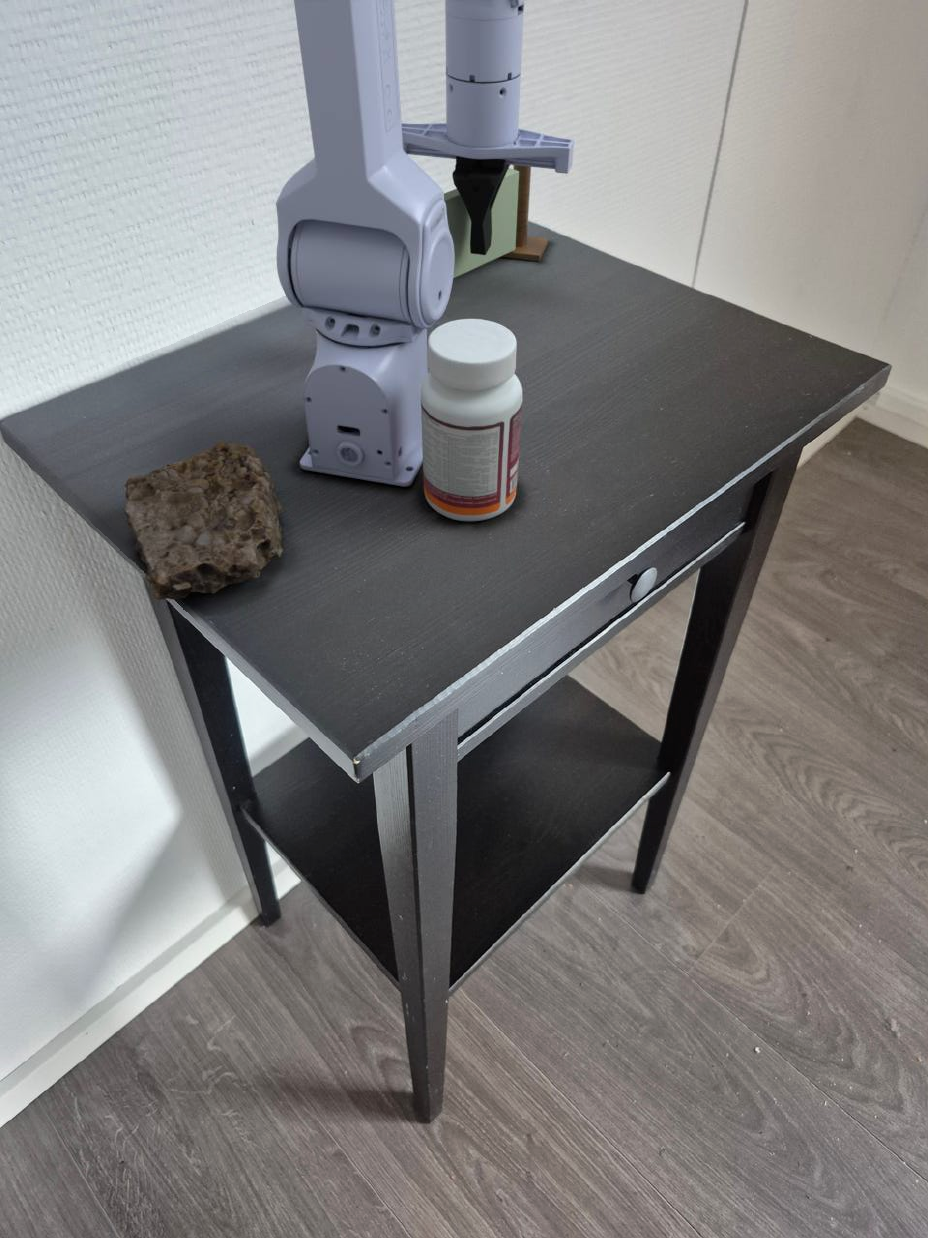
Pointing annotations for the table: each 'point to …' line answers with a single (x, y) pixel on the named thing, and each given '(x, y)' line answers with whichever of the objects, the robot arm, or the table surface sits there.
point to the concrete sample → (205, 521)
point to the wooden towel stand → (525, 222)
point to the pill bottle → (471, 420)
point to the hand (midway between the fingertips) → (480, 249)
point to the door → (501, 225)
